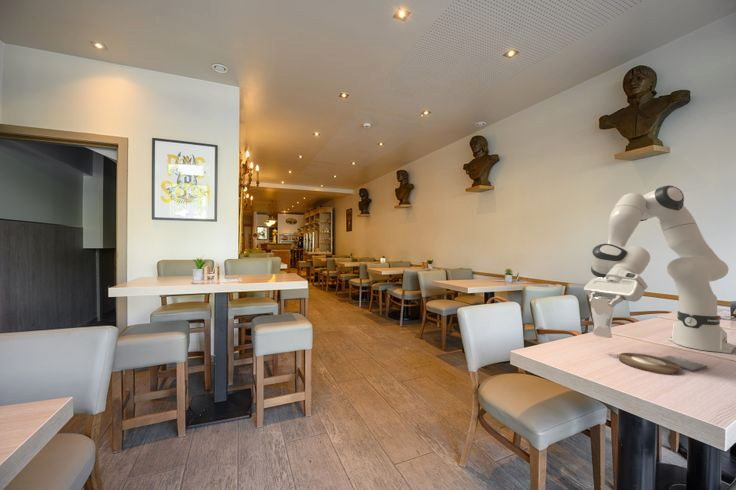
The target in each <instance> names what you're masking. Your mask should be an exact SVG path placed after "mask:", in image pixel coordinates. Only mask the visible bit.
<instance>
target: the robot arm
mask: <svg viewBox="0 0 736 490" xmlns="http://www.w3.org/2000/svg"><path fill="white" fill-rule="evenodd" d="M684 203H685V195H684V192H683V191H682V190H681V189H679V188H678V187H677V186H674V185H665V186H661V187H658V188H656V189H655V190H652V191H649V192H647V193H645V194H640V193H636V192H630V193H626V194H624V195H622V196H621V197H620V198H619V199H618V201H617V202H616V203H615V205H614V206H613V208H612V210H611V212H610V215H609V218H608V237H607V239H608V240H607V243H601V244H598V245H596V246H594V247H593V248H592V251H591V253H592V254H591V256H592V257H591V268H590V271H591V273H592V275H594V276H595V277H594V278H592V279H591V280H590V281H588V282H587V283H586V284H585V285H584V286H583V291H584V292H585V294H587V295H588V296H590V298H589V300H588V301H589V302H590V303H591V302H592V297H606V298H612V299H613V300H612V301H611V300H610V301H609V302H608V305H609V306H611V307H613V308H614V307H616V305H618V304H620V303H622V302H623V301H628V302H635V303H636V302H638V301H640V300H641V298H642V297H643V296H644V294H645V292H646V291H645V290H647V288H649V286H648V284H647V283H646V282H645V280H644V279H643V278H642V277H641V275H640V274H643V272H644V271H645V269H646V268H647V266H648V265H649V263H650V262H651V254H650V253H649V251H648V250H646V249H645V248H644V247H642V246H639V245H631V246H626V245H627V243H628V241H629V239H630V238H631V236H632V234H633V233H634V232H635V230H636V229H637V227H638V226H639V224H640V223H641V222H644V221H647V220H650V219H652V218H653V219H654V218H657V219H658V220H659V225H660V228H661V230H662V233H663V235H664V239H665V241H666V242H667V245H668V247H669V248H670V249H671V250H672V251H674V253H676V255H677V256H678V258H675V259H673V260H671V261H669V263H668V264H667V266H666V271H667V274H668V275H669V276H670V277H671V278H672V279H673V282H674V283H675V286H676V290H677V293H678V311H677V313H676V314H677V315H676V316H677V318H676V319H677V321H675V322H673V324H672V325H673V327H672V335H671V336H672V337H668V341H670V342H673V343H674V344H676V345H678V346H682V347H686V348H690V349H695V350H699V351H700V350H701V351H707V352H715V353H716V352H717V353H726V354H732V353H733V351H734V350H736V349H735V348H736V345H735V344H733V343H729V342H728V333H727V332H726V331H725V330H724V329H723V328H722V326H721V323H720V321H721V319H722V316H721V315H718V296H717V295H716V294H715V293H714V292H713V290H712V286H711V284H710V282H715V281H718V280H720V279H722V278H725V277H726V276H727V275H728V274H729V266H728V265H727V263H726V262H725V261H723V260H722V259H721V258H720V257H719V256H718V255H717V254H716V253H715V252H714V250H713V249H712V248H711V247H710V246H709V244H708V243H707V241H706V240H705V238H704V236H703V234H702V232H701V230H700V228H699V226H698V224H697V222H696V219H695V218H694V216H693V215H692V213H691V212H690V211H689V210H688V209H687V207H686V206H684V205H685V204H684Z"/></svg>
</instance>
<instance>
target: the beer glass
mask: <svg viewBox="0 0 736 490" xmlns="http://www.w3.org/2000/svg"><path fill="white" fill-rule="evenodd" d="M610 300H611V301H612V300H614V299H613V298H607V297H600V296H598V297H592V302H591V305H590V308H591V310H590V311H591V316H592V322H593V330H592V335H593V336H595V337H600V338H605V339H606V338H609V339H610V338H613V333H612V322H613V318H614V307H611V306H609V305H608V302H609V301H610Z"/></svg>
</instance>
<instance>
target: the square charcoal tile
mask: <svg viewBox="0 0 736 490" xmlns="http://www.w3.org/2000/svg"><path fill="white" fill-rule="evenodd" d="M661 358H662V359H666V360H669V361H671V362H674V363H676V364H678V365H679V366H680V367H681V370H684V371H688V372H692V373H693V372H698V371H701V370H704V369H708V365H706V364H702V363H698V362H695V361H692V360H687V359H683V358H680V357H675V356H671V355H667V356H662V357H661Z"/></svg>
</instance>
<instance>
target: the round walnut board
mask: <svg viewBox="0 0 736 490" xmlns="http://www.w3.org/2000/svg"><path fill="white" fill-rule="evenodd" d="M618 360H619V361H620V362H621V363H622V364H624V365H626V366H628V367H631V368H634V369H637V370H641V371H644V372H648V373H649V372H650V373H654V374H658V375H659V374H660V375H672V376H673V375H679V374H681V370H682V369H681V367H680V366H679V365H678V364H676V363H674V362H671V361H669V360H666V359H662V357H659V356H654V355H650V354H645V353H635V352H623V353H622V352H621V353H618Z"/></svg>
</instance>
